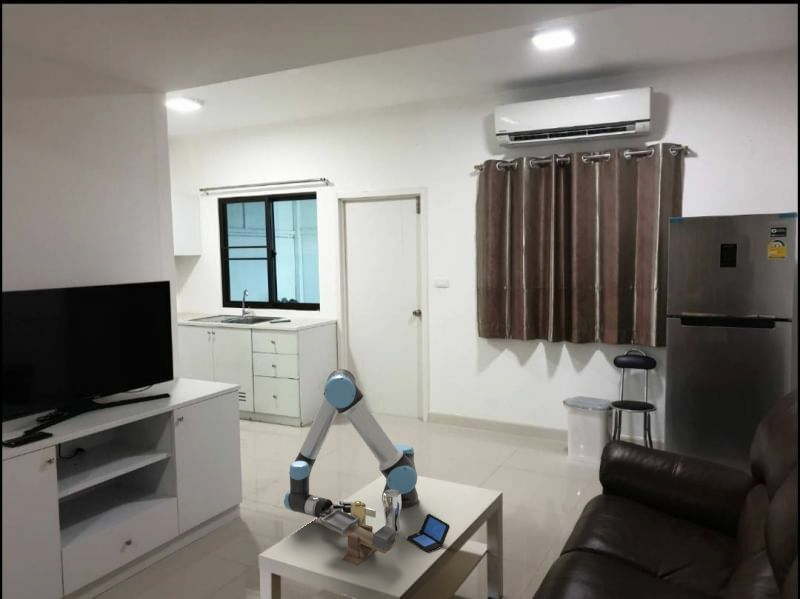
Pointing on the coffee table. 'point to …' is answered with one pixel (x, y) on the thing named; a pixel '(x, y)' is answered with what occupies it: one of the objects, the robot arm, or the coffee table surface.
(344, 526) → the balance beam
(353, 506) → the brass weight
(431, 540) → the handheld game console
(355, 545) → the beam stand
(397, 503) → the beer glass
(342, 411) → the robot arm
